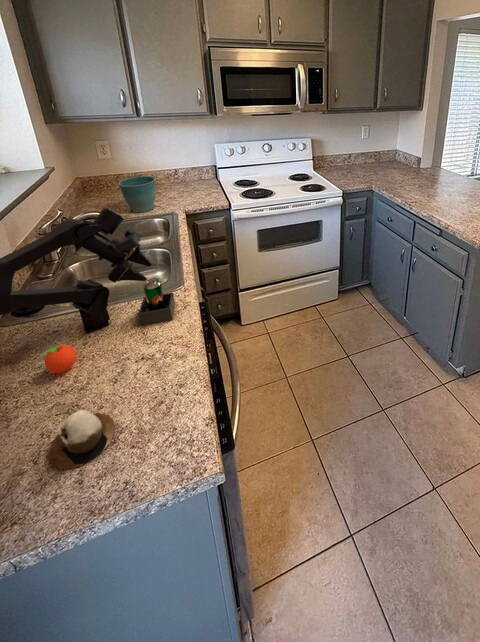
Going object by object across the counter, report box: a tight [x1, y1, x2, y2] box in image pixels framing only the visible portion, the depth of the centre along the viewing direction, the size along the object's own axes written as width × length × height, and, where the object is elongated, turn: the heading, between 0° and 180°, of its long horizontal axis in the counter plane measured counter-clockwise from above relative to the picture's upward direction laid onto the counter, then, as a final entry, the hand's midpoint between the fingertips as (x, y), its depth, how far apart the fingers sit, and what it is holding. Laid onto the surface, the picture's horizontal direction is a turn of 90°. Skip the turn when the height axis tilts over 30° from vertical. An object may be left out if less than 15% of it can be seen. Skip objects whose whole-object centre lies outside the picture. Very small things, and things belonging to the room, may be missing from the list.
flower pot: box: [118, 175, 157, 213], centre depth 201 cm, size 18×18×17 cm
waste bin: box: [138, 292, 176, 326], centre depth 117 cm, size 9×9×4 cm
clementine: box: [39, 344, 78, 374], centre depth 95 cm, size 8×7×7 cm
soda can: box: [143, 277, 166, 311], centre depth 115 cm, size 5×5×12 cm
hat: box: [48, 409, 116, 470], centre depth 77 cm, size 12×10×10 cm
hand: (148, 272), depth 116 cm, fingers open, 9 cm apart
